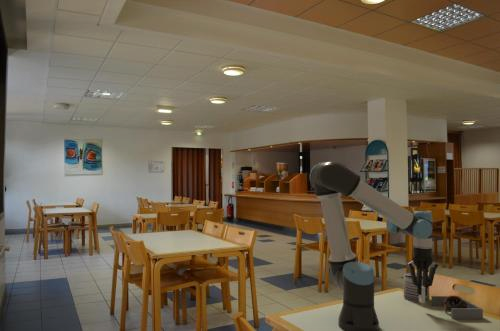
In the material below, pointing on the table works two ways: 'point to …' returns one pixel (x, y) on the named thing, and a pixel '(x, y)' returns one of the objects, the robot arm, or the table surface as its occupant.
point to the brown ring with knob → (454, 303)
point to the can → (412, 289)
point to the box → (460, 309)
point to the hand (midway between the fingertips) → (421, 302)
